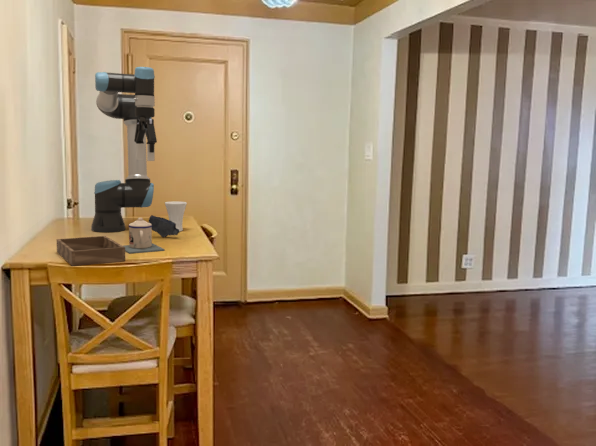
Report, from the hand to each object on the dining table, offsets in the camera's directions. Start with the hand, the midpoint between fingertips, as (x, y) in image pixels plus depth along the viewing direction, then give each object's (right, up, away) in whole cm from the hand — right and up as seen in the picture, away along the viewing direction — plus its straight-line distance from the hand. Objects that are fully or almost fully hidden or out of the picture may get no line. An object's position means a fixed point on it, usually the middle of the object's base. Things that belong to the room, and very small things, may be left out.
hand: (145, 160), depth 226 cm
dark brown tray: (-14, -38, -22) cm, 46 cm away
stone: (+2, -32, +22) cm, 39 cm away
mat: (0, -36, -5) cm, 36 cm away
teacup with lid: (0, -35, -5) cm, 36 cm away
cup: (+3, -29, +41) cm, 51 cm away
